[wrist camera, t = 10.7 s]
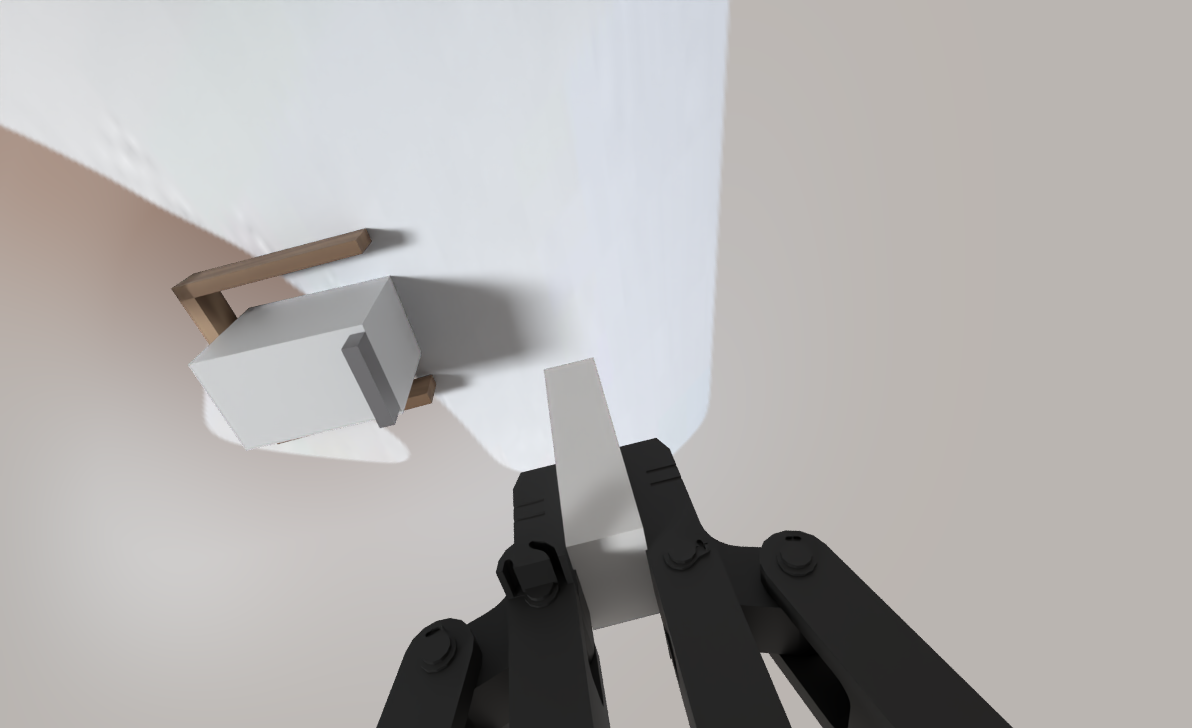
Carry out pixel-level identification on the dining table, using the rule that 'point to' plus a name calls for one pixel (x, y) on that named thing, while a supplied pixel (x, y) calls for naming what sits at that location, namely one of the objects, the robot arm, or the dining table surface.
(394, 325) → the grey box with ridge
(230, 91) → the dining table surface
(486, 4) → the dining table surface
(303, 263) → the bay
